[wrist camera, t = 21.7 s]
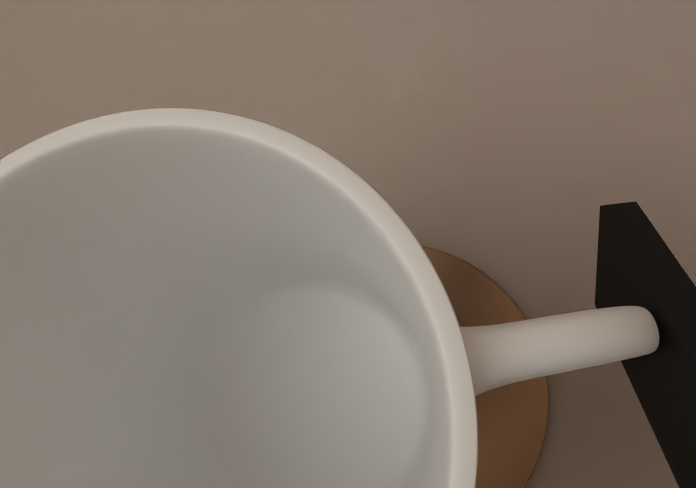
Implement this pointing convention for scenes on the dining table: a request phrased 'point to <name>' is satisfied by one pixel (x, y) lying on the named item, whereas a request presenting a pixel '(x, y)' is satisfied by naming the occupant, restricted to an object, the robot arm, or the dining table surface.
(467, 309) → the coaster
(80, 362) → the mug
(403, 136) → the dining table surface
